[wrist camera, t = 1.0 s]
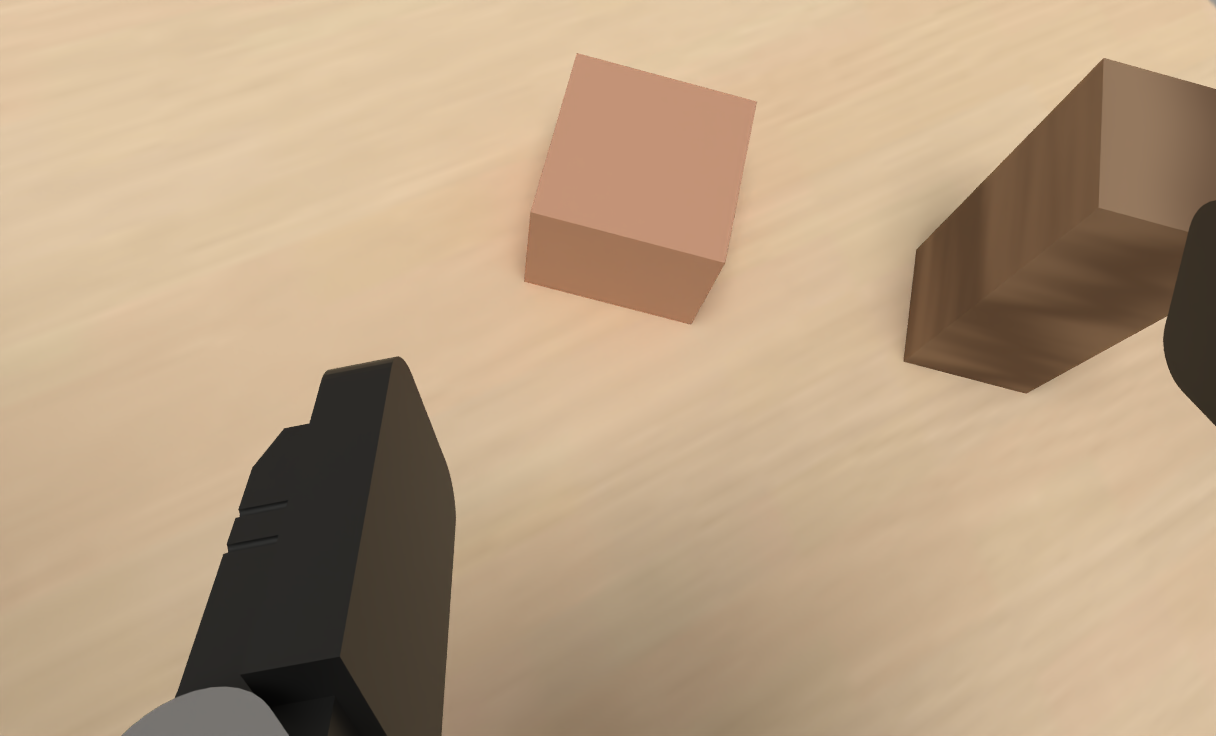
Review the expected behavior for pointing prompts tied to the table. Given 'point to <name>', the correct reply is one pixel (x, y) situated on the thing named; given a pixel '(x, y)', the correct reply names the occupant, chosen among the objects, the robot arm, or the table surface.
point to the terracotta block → (638, 190)
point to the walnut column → (1068, 233)
